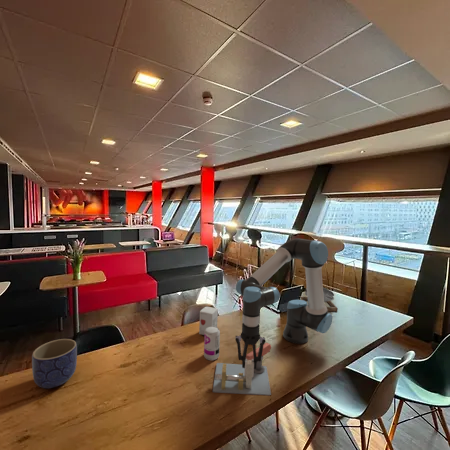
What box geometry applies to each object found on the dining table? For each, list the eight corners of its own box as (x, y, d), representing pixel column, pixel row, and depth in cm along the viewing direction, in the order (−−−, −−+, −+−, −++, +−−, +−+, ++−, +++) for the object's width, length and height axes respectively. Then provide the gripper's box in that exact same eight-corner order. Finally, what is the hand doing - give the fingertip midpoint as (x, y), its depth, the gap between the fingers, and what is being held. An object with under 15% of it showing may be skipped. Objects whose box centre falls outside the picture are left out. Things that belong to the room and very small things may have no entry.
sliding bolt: (251, 383, 111) (251, 360, 110) (251, 388, 108) (252, 364, 107) (214, 380, 112) (215, 357, 111) (214, 385, 109) (214, 362, 108)
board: (266, 368, 124) (266, 354, 124) (271, 397, 105) (271, 381, 104) (216, 364, 126) (217, 351, 125) (212, 393, 106) (213, 377, 106)
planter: (43, 399, 100) (42, 364, 99) (26, 383, 109) (25, 351, 108) (84, 376, 114) (84, 345, 113) (66, 363, 123) (65, 334, 122)
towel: (334, 301, 194) (335, 292, 198) (317, 292, 190) (317, 283, 194) (320, 303, 207) (320, 294, 211) (303, 295, 202) (304, 286, 206)
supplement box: (198, 334, 155) (199, 311, 154) (205, 327, 164) (205, 305, 162) (211, 337, 152) (212, 313, 151) (217, 330, 160) (218, 308, 159)
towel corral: (327, 301, 218) (327, 297, 218) (337, 311, 196) (337, 308, 196) (298, 299, 219) (299, 296, 219) (305, 310, 197) (305, 306, 197)
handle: (266, 348, 129) (266, 340, 129) (273, 352, 126) (273, 344, 125) (243, 362, 117) (244, 353, 116) (251, 366, 113) (251, 358, 113)
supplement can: (207, 362, 127) (208, 334, 126) (201, 354, 134) (202, 327, 133) (221, 358, 131) (222, 331, 130) (215, 350, 138) (215, 324, 137)
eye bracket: (242, 381, 113) (243, 364, 112) (242, 390, 107) (243, 373, 106) (222, 379, 113) (222, 363, 113) (221, 389, 107) (221, 372, 107)
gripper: (267, 320, 111) (265, 370, 112) (233, 318, 112) (231, 367, 113) (269, 328, 103) (267, 381, 105) (232, 326, 104) (231, 379, 106)
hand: (248, 374), depth 109 cm, fingers closed on sliding bolt, 2 cm apart
